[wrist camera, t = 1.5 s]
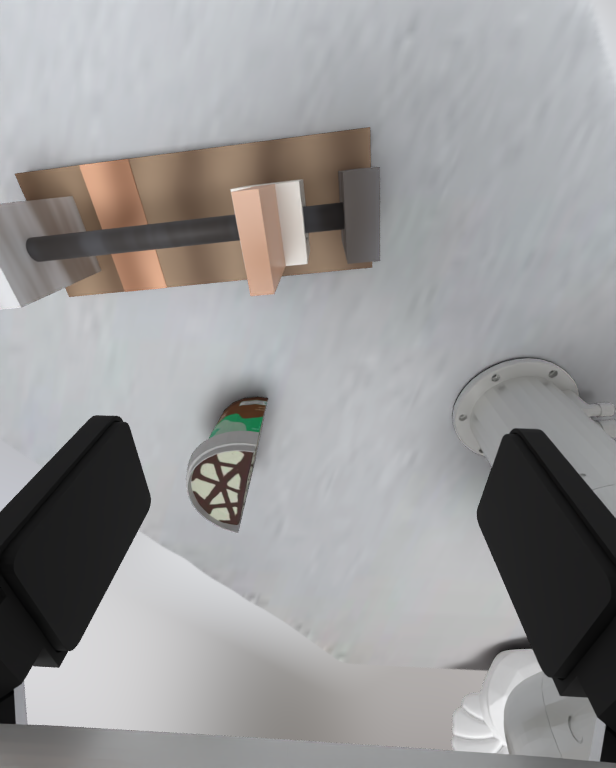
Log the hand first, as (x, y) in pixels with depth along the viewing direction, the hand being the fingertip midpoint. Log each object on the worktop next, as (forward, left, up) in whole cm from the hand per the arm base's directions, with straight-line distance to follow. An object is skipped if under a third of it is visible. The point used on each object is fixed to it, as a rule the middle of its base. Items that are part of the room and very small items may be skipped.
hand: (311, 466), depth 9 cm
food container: (+12, +18, -27) cm, 35 cm away
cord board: (+10, -4, -27) cm, 29 cm away
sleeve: (+3, -4, -21) cm, 22 cm away
